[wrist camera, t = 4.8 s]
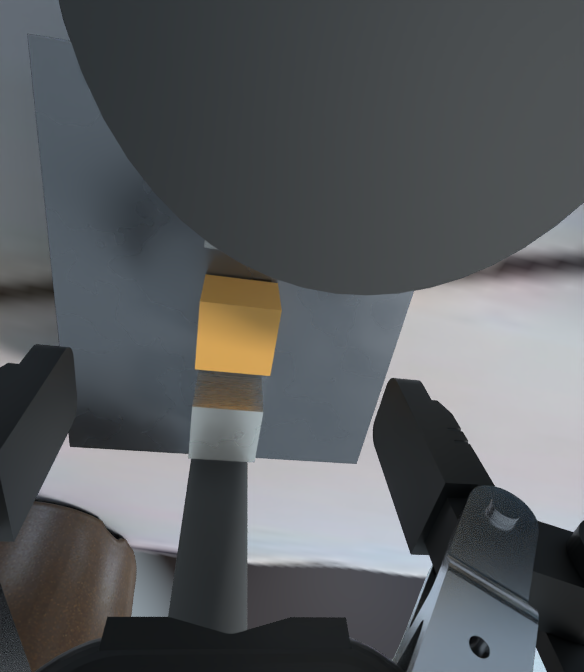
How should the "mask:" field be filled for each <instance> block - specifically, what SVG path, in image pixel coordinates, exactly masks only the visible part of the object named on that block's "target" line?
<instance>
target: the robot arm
mask: <svg viewBox="0 0 584 672" xmlns="http://www.w3.org/2000/svg"><path fill="white" fill-rule="evenodd" d="M76 409H77V390H76V378H75V366H74V355H73V351H72V349H71V348H70V347H60V346H50V345H39V344H36V345H34V346H33V347H32V348H31V350H30V351H29V352H28V353H27V355H26V356H25V357H24V359H23V360H22V361H21V362H20V364H13V363H7V364H6V365H4V366H2V367H0V541H2V542H14V541H15V539H16V537H17V535H18V533H19V531H20V529H21V527H22V525H23V523H24V521H25V519H26V517H27V515H28V513H29V511H30V509H31V507H32V505H33V503H34V501H35V499H36V497H37V495H38V493H39V491H40V489H41V487H42V485H43V483H44V480H45V478H46V476H47V474H48V472H49V470H50V468H51V466H52V464H53V462H54V460H55V458H56V456H57V454H58V452H59V450H60V448H61V446H62V444H63V442H64V440H65V438H66V436H67V434H68V432H69V430H70V428H71V426H72V424H73V421H74V418H75V414H76ZM373 442H374V446H375V449H376V452H377V455H378V458H379V461H380V464H381V467H382V470H383V473H384V476H385V479H386V482H387V485H388V488H389V491H390V494H391V497H392V500H393V503H394V506H395V509H396V512H397V515H398V518H399V521H400V524H401V527H402V530H403V533H404V536H405V538H406V541H407V544H408V547H409V550H410V553H411V554H413V555H429V556H430V559H431V561H432V566H431V568H430V570H429V572H428V574H427V577H426V579H425V582H424V585H423V588H422V590H421V592H420V595H419V597H418V600H417V603H416V605H415V608H414V610H413V613H412V616H411V618H410V621H409V624H408V626H407V628H406V631H405V634H404V636H403V639H402V641H401V643H400V646H399V648H398V650H397V652H396V654H395V656H394V658H393V661H392V660H390V659H389V658H388V657H386V656H385V655H384V654H383V653H381V652H379V651H377V650H376V649H374V648H372V647H371V646H369V645H367V644H365V643H362V642H360V641H358V640H356V639H353V638H350V637H349V633H348V628H347V622H346V618H313V617H312V618H311V617H310V618H309V617H306V618H305V617H301V618H300V617H298V618H297V617H296V618H295V617H293V618H292V617H290V618H287V619H284V620H280V621H277V622H273V623H270V624H266V625H263V626H259V627H256V628H252V629H249V630H245V631H242V632H238V633H234V634H228V633H223V632H220V631H217V630H213V629H210V628H206V627H203V626H199V625H196V624H192V623H189V622H185V621H182V620H178V619H175V618H171V617H107V620H106V624H105V627H104V631H103V635H102V637H101V638H97V639H94V640H91V641H88V642H86V643H83V644H81V645H78V646H76V647H73V648H71V649H70V650H68V651H66V652H64V653H62V654H60V655H58V656H57V657H55V658H54V659H52V660H51V661H49V662H47V663H46V664H44V665H43V666H41V667H40V668H39V669H38V670H36V671H35V672H533V665H534V657H535V648H537V651H538V653H539V655H540V657H541V659H542V662H543V664H544V666H545V668H546V671H547V672H584V521H582V522H581V523H580V525H579V526H578V527H577V529H576V530H575V531H574V532H571V531H567V530H564V529H561V528H558V527H555V526H552V525H549V524H546V523H542V522H539V521H537V519H536V517H535V515H534V514H533V512H532V511H531V510H530V508H529V507H528V506H527V505H526V504H525V503H524V502H523V501H522V500H520V499H519V498H518V497H516V496H515V495H513V494H512V493H510V492H508V491H506V490H504V489H501V488H498V487H495V485H494V484H493V482H492V480H491V479H490V477H489V475H488V474H487V472H486V470H485V469H484V467H483V465H482V464H481V462H480V460H479V458H478V457H477V455H476V453H475V452H474V450H473V448H472V447H471V445H470V444H468V440H467V438H466V437H465V435H464V433H463V432H461V428H460V426H459V425H458V423H457V421H456V420H455V418H454V416H453V415H452V413H450V412H449V411H448V410H447V409H446V408H445V407H444V406H443V405H442V404H440V403H439V402H438V401H435V400H431V398H430V397H429V395H428V393H427V391H426V389H425V388H424V386H423V384H422V383H421V382H420V381H419V380H408V379H397V378H391V379H390V380H389V381H388V383H387V386H386V389H385V392H384V395H383V398H382V401H381V404H380V407H379V409H378V412H377V415H376V418H375V421H374V426H373ZM0 672H32V671H31V668H30V666H29V663H28V660H27V657H26V654H25V652H24V649H23V646H22V643H21V640H20V637H19V635H18V632H17V629H16V626H15V623H14V620H13V618H12V615H11V612H10V609H9V606H8V603H7V601H6V598H5V595H4V592H3V589H2V587H1V584H0Z"/></svg>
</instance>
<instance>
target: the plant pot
mask: <svg viewBox="0 0 584 672" xmlns="http://www.w3.org/2000/svg"><path fill="white" fill-rule="evenodd" d="M135 582H136V560H135V555H134V552H133V550H132V549H131V547H130V546H129V544H128V542H127V541H126V540H125V539H123V538H120V539H116V538H115V537H114V536H113V535H112V534H111V533H110V532H109V531H108V530H107V529H106V527H105V525H104V523H103V522H102V521H101V520H99V519H97V518H96V517H94V516H92V515H89V514H86V513H84V512H81V511H78V510H76V509H72V508H68V507H65V506H61V505H56V504H52V503H45V502H37V501H34V503H33V505H32V507H31V509H30V511H29V513H28V515H27V517H26V519H25V521H24V523H23V525H22V527H21V529H20V531H19V533H18V535H17V537H16V539H15V541H14V542H2V541H0V584H1V587H2V589H3V592H4V595H5V598H6V601H7V603H8V606H9V609H10V612H11V615H12V618H13V620H14V623H15V626H16V629H17V632H18V635H19V637H20V640H21V643H22V646H23V649H24V652H25V654H26V657H27V660H28V663H29V666H30V668H31V671H32V672H35V671H36V670H38V669H39V668H40V667H41V666H43V665H44V664H46V663H47V662H49V661H51V660H52V659H54V658H55V657H57V656H58V655H60V654H62V653H64V652H66V651H68V650H70V649H71V648H73V647H76V646H78V645H81V644H83V643H86V642H88V641H91V640H94V639H97V638H101V637H102V635H103V631H104V627H105V624H106V620H107V617H131V614H132V604H133V596H134V589H135Z"/></svg>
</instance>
